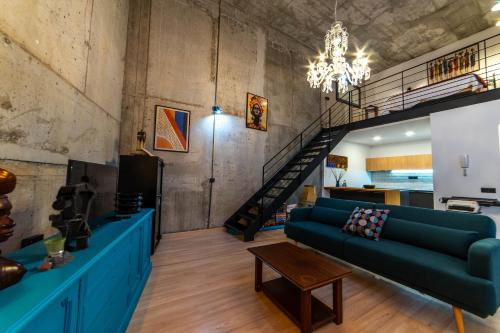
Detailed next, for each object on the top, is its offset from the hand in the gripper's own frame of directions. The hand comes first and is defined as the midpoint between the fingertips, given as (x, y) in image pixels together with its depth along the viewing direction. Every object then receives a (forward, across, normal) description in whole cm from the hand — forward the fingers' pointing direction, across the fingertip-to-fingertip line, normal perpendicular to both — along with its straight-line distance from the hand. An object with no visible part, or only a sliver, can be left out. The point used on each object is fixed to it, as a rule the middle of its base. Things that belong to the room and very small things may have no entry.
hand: (70, 235), depth 112 cm
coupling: (+10, +9, -1) cm, 14 cm away
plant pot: (+12, -5, -11) cm, 17 cm away
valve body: (+12, +9, -1) cm, 15 cm away
